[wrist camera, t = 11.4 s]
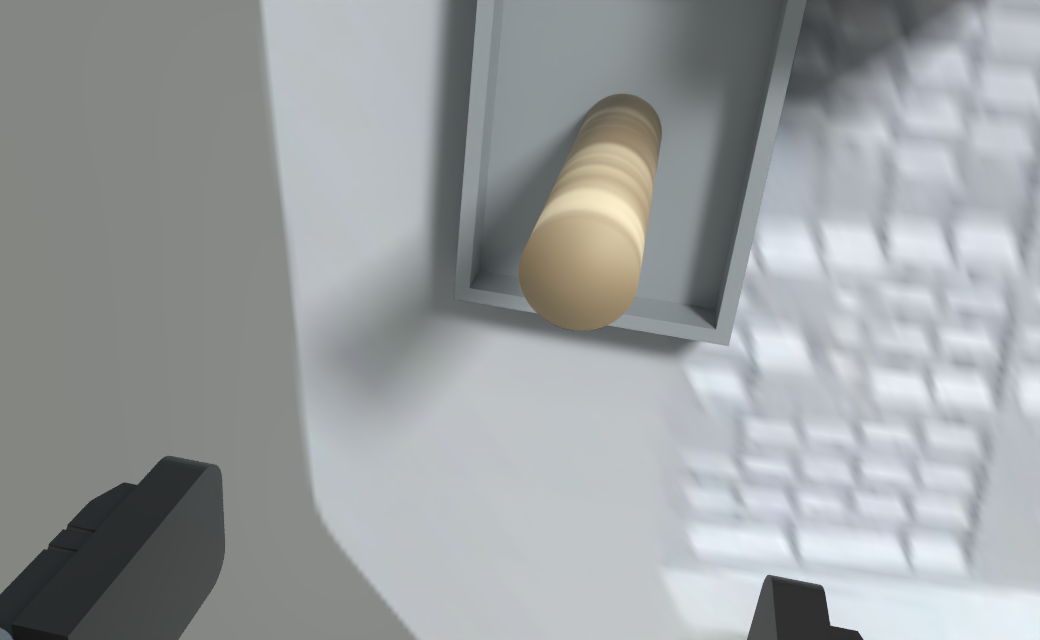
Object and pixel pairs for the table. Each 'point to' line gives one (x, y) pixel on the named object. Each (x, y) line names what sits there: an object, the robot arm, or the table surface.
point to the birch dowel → (595, 219)
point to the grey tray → (683, 151)
